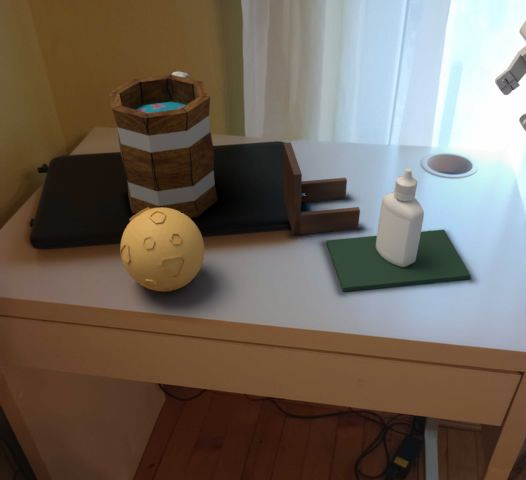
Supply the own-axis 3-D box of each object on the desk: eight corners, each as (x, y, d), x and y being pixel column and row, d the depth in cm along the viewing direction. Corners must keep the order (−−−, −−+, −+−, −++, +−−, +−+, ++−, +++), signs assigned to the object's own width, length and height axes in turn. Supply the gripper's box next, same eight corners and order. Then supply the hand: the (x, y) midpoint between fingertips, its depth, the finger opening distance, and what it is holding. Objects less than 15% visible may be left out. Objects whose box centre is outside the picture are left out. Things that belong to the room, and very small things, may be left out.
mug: (208, 225, 87) (198, 120, 76) (114, 219, 89) (91, 115, 78) (233, 156, 101) (227, 59, 90) (151, 152, 102) (136, 56, 92)
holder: (344, 195, 92) (349, 137, 86) (358, 229, 86) (364, 168, 79) (283, 201, 91) (283, 142, 85) (292, 235, 85) (294, 174, 79)
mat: (443, 233, 85) (444, 229, 84) (470, 279, 78) (471, 275, 77) (326, 243, 84) (326, 240, 83) (342, 291, 76) (342, 287, 76)
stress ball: (152, 252, 83) (141, 183, 76) (220, 268, 80) (215, 199, 73) (112, 297, 76) (95, 227, 69) (184, 317, 74) (174, 246, 67)
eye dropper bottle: (382, 270, 78) (395, 183, 70) (373, 243, 82) (384, 159, 74) (417, 268, 79) (434, 181, 70) (406, 241, 82) (421, 156, 74)
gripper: (587, -53, 65) (471, 48, 72) (679, 13, 50) (522, 132, 57) (615, -6, 68) (501, 87, 75) (709, 69, 53) (556, 175, 60)
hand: (510, 107), depth 66 cm, fingers open, 8 cm apart
